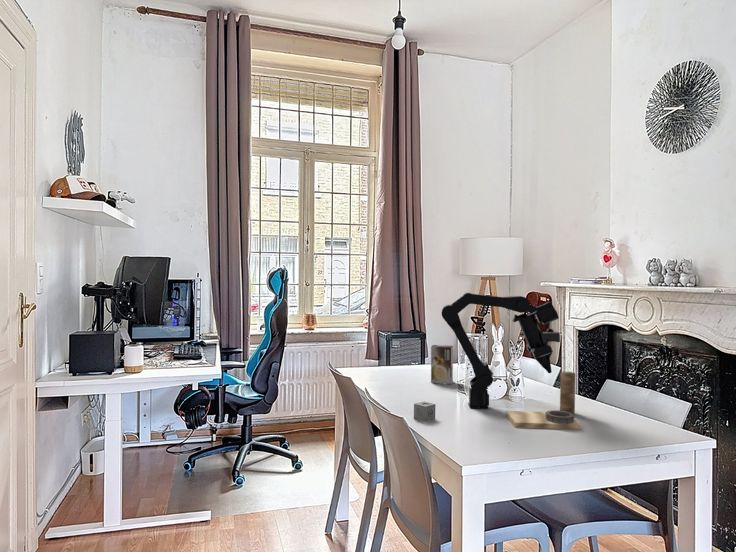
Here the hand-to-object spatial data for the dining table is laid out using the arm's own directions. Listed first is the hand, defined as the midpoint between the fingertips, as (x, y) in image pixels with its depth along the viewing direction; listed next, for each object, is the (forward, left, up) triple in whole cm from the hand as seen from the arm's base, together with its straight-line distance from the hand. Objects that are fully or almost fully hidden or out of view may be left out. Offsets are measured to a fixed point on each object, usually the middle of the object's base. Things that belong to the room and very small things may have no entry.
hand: (547, 370), depth 186 cm
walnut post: (+6, -3, -14) cm, 16 cm away
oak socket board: (-6, -15, -14) cm, 22 cm away
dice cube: (-44, -16, -14) cm, 49 cm away
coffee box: (-34, +43, -14) cm, 57 cm away
